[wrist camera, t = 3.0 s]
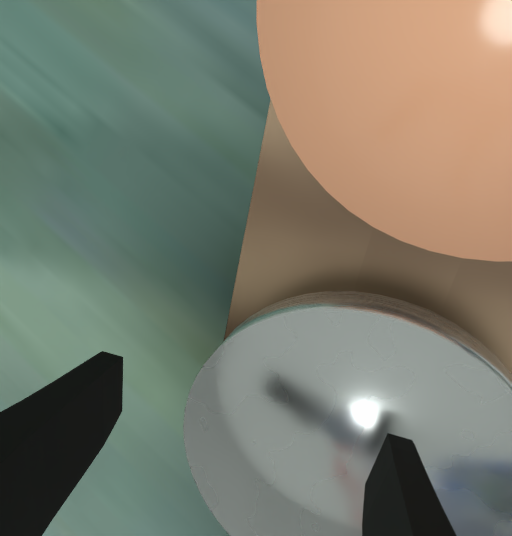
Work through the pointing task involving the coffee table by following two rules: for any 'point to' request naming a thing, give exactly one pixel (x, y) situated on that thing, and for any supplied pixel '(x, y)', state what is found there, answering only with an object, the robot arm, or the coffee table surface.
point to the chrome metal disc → (347, 416)
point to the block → (353, 256)
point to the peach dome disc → (401, 112)
